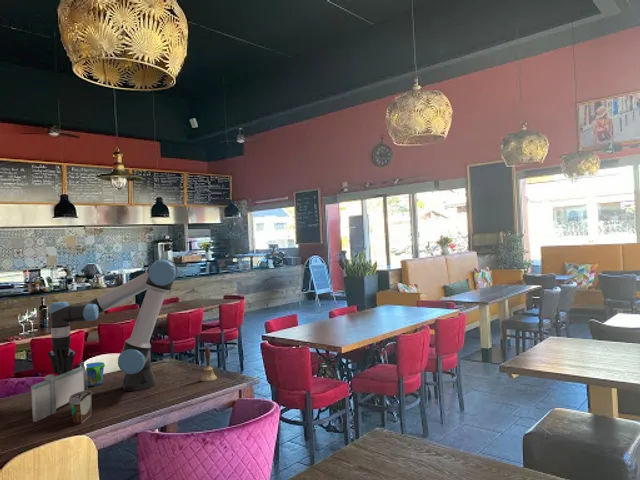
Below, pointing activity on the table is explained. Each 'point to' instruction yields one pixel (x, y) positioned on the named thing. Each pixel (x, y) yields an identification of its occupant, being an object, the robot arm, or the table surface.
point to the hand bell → (208, 369)
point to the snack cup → (95, 373)
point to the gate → (68, 385)
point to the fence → (48, 396)
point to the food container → (80, 406)
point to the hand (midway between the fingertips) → (63, 388)
